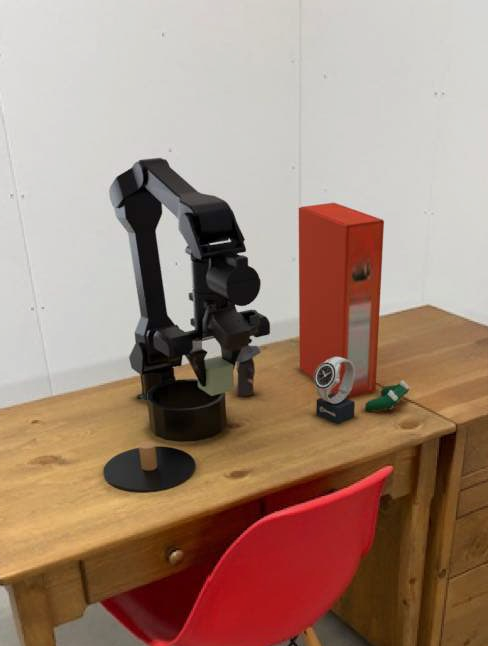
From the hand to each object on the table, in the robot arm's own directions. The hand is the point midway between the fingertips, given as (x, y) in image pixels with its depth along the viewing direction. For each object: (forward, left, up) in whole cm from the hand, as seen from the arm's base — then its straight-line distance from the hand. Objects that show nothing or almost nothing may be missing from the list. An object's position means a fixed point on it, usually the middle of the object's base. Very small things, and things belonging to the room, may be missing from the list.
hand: (215, 382), depth 132 cm
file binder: (0, +35, -11) cm, 37 cm away
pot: (-8, +1, -11) cm, 14 cm away
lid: (-1, -15, -11) cm, 18 cm away
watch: (+10, +21, -11) cm, 26 cm away
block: (0, 0, -1) cm, 1 cm away
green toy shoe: (+15, +31, -11) cm, 36 cm away
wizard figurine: (-11, +19, -11) cm, 25 cm away
